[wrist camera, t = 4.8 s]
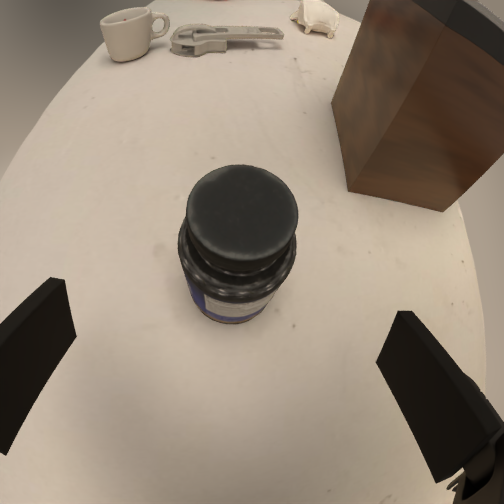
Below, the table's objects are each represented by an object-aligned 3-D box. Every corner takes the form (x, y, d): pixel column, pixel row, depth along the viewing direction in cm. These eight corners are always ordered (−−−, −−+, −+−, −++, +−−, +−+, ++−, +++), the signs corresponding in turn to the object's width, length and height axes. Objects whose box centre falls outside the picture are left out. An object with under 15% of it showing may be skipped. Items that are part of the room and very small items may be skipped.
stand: (443, 212, 28) (545, 104, 11) (348, 191, 27) (445, 25, 10) (411, 126, 34) (470, 28, 17) (330, 102, 33) (377, -21, 16)
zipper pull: (285, 55, 38) (290, 34, 34) (170, 60, 34) (169, 36, 30) (272, 37, 40) (276, 18, 37) (170, 41, 37) (169, 21, 33)
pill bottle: (195, 245, 23) (182, 146, 13) (271, 252, 23) (310, 159, 13) (186, 322, 20) (155, 270, 10) (269, 328, 21) (320, 283, 11)
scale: (545, 104, 11) (561, 82, 8) (445, 25, 10) (462, -11, 7) (470, 28, 17) (479, 10, 14) (377, -21, 16) (385, -44, 13)
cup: (166, 38, 38) (164, 0, 30) (175, 53, 35) (174, 10, 28) (106, 53, 35) (99, 16, 28) (107, 71, 32) (99, 28, 25)
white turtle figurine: (332, 48, 48) (321, 9, 48) (346, 24, 39) (332, -13, 40) (293, 41, 46) (287, 3, 47) (304, 15, 38) (295, -21, 39)
